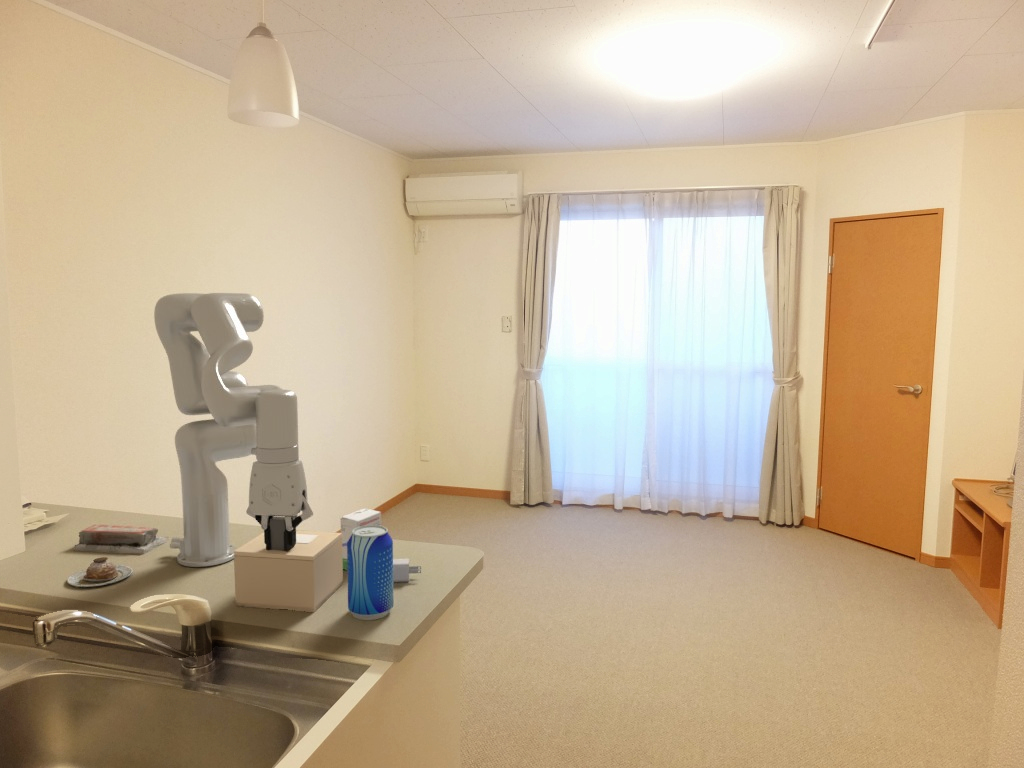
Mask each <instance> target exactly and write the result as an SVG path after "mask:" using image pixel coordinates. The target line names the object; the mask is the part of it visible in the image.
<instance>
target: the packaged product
mask: <svg viewBox="0 0 1024 768" xmlns="http://www.w3.org/2000/svg"><path fill="white" fill-rule="evenodd" d="M158 531H159V529H158V528H155V527H147V526H132V525H117V524H116V525H114V524H92V525H91V526H88V527H86V528H84V529H82V530H81V531H79V532H78V537H79V538H78V539H79V540H78V543H77V544H74V547H73V550H74V551H76V552H77V551H78V552H80V551H81V552H94V553H95V552H97V553H115V554H116V553H117V554H137V555H145V554H146V553H149V552H151V551H152V550H154V549H156V548H157V547H160V546H161V545H163V544H164V543H167V542H168V541H169V536H157V534H158Z"/></svg>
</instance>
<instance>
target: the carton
mask: <svg viewBox="0 0 1024 768" xmlns="http://www.w3.org/2000/svg"><path fill="white" fill-rule="evenodd" d="M233 563H234V565H233V569H234V595H235V597H234V598H235V599H234V600H235V607H241V606H244V607H243V608H254V607H255V609H256V608H257V609H266V608H270V610H279V609H288V610H287V611H292V610H293V611H292V612H304V611H305V612H307V613H316V611H317V610H319V609H320V607H321V606H322V605H323V604H324V603H326V601H327V600H328V599H329V598H330V597H331V596H332V595H333V594H335V592H336V591H337V590H339V589H340V587H341V586H342V585H343V584H342V583H344V574H343V572H344V570H343V559H342V537H341V538H340V539H339V540H338V541H336V542H335V543H334V544H333V545H332V546H330V547H329V548H328V549H327V550H326V551H324V552H323V553H322V554H321V555H320V556H318V557H317V558H316V559H315V560H313V561H311V560H296V559H281V558H266V557H251V556H236V555H234V558H233ZM340 585H341V586H340ZM336 589H337V590H336ZM335 590H336V591H335ZM332 593H333V594H332ZM294 610H295V611H294Z"/></svg>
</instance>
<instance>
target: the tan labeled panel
mask: <svg viewBox="0 0 1024 768" xmlns="http://www.w3.org/2000/svg"><path fill="white" fill-rule="evenodd" d="M284 531H286V522H285V517H284V516H274V517H273V518H271V519H270V533H271V549H270V550H266V544H265V542H264V531H263V532H262V533H260V534H259V535H257V536H256V537H254V538H252V539H250V540H249V541H247V542H246V543H244V544H243V545H241V546H240V547H238V548H237V550H235V551H234V555H236V556H251V557H266V558H281V559H296V560H311V561H313V560H315V559H316V558H317V557H318V556H320V555H321V554H322V553H323V552H324V551H326V550H327V549H328V548H329V547H330V546H332V545H333V544H334V543H335V542H336V541H338V540H339V539H340V538H341V537H342V533H341V532H330V531H329V532H328V531H316V530H315V531H314V530H313V531H312V530H297V529H296V544H295V546H294V547H293V548H292V549H291V550H289V551H285V550H284Z"/></svg>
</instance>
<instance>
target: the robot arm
mask: <svg viewBox="0 0 1024 768" xmlns="http://www.w3.org/2000/svg"><path fill="white" fill-rule="evenodd" d="M153 314H154V315H153V318H154V325H155V330H156V333H157V336H158V338H159V340H160V343H161V344H162V346H163V349H164V350H165V351H164V352H165V353H166V356H167V358H168V359H167V360H168V363H169V369H170V371H169V372H170V376H171V382H172V388H173V394H174V400H175V403H176V406H177V409H178V410H179V412H181V414H183V415H186V416H202V415H211V416H212V418H211V419H202V420H201V419H200V420H194V421H190V422H186V423H185V424H183V425H181V426H180V427H179V428H178V430H177V431H176V432H175V436H174V445H175V450H176V455H177V458H178V463H179V470H180V480H181V498H182V501H181V502H182V521H183V525H182V527H183V537H178V536H174V537H172V538H171V541H170V544H169V548H170V549H179V553H178V555H177V557H176V559H177V563H178V564H179V565H181V566H185V567H189V568H190V567H191V568H204V567H212V566H217V565H221V564H222V565H223V564H225V563H228V562H230V561H232V560H234V551H235V550H237V549H238V548H237V547H236V546H234V545H232V544H231V543H230V541H231V540H230V517H229V514H230V513H229V491H228V490H229V485H228V484H229V483H228V479H227V477H226V475H225V473H224V472H223V471H222V470H221V469H220V468H219V467H218V466H217V464H216V463H218V462H221V461H226V460H228V461H229V460H233V459H239V458H246V457H248V456H251V455H252V456H253V455H255V457H256V461H253V463H252V465H251V466H252V467H251V472H250V476H249V477H250V478H249V488H248V489H249V490H248V507H247V509H246V514H247V515H248V516H250V517H252V518H253V519H254V520H255V521H256V522H257V523H258V524H259V525H260V527H261V529H262V530H263V532H264V542H265V544H266V550H270V549H271V533H270V519H271V518H273V517H275V516H277V517H285V522H286V531H284V550H285V551H289V550H291V549H292V548H293V547H294V546H295V544H296V530H297V527H298V526H299V525H300V524H301V523H303V521H306V520H308V519H310V518H312V516H314V511H313V510H312V508H311V506H310V504H309V502H308V489H307V480H306V473H305V469H304V465H303V462H302V460H299V457H300V455H299V453H300V451H299V425H298V422H299V421H298V419H299V418H298V416H299V414H298V397H297V394H296V393H295V392H294V391H292V390H290V389H283V388H281V387H280V386H278V385H275V384H262V385H249V384H248V381H247V379H246V378H245V377H244V376H243V375H242V374H241V373H239V372H237V371H232V370H233V369H235V368H238V367H240V366H241V365H243V364H244V363H246V362H247V360H249V358H250V357H251V355H252V354H253V349H254V347H253V343H252V341H251V339H250V337H249V334H248V333H254V332H257V331H258V330H260V328H261V327H262V326H263V322H264V319H265V318H264V317H265V316H264V308H263V306H262V304H261V302H260V301H259V299H257V298H256V297H255V296H254V295H253V294H250V293H243V292H242V293H239V292H236V293H235V292H234V293H233V292H232V293H231V292H210V293H198V292H197V293H196V292H195V293H194V292H192V293H191V292H190V293H189V292H188V293H187V292H183V293H171V294H166V295H165V296H162V297H160V298H159V299H158V300H157V302H156V304H155V306H154V313H153ZM191 332H198V333H199V336H200V338H201V340H202V341H200V340H199V339H198V338H197V337H196V336H195V335H193V334H192V333H191ZM202 342H203V343H202ZM300 512H301V514H300Z"/></svg>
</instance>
